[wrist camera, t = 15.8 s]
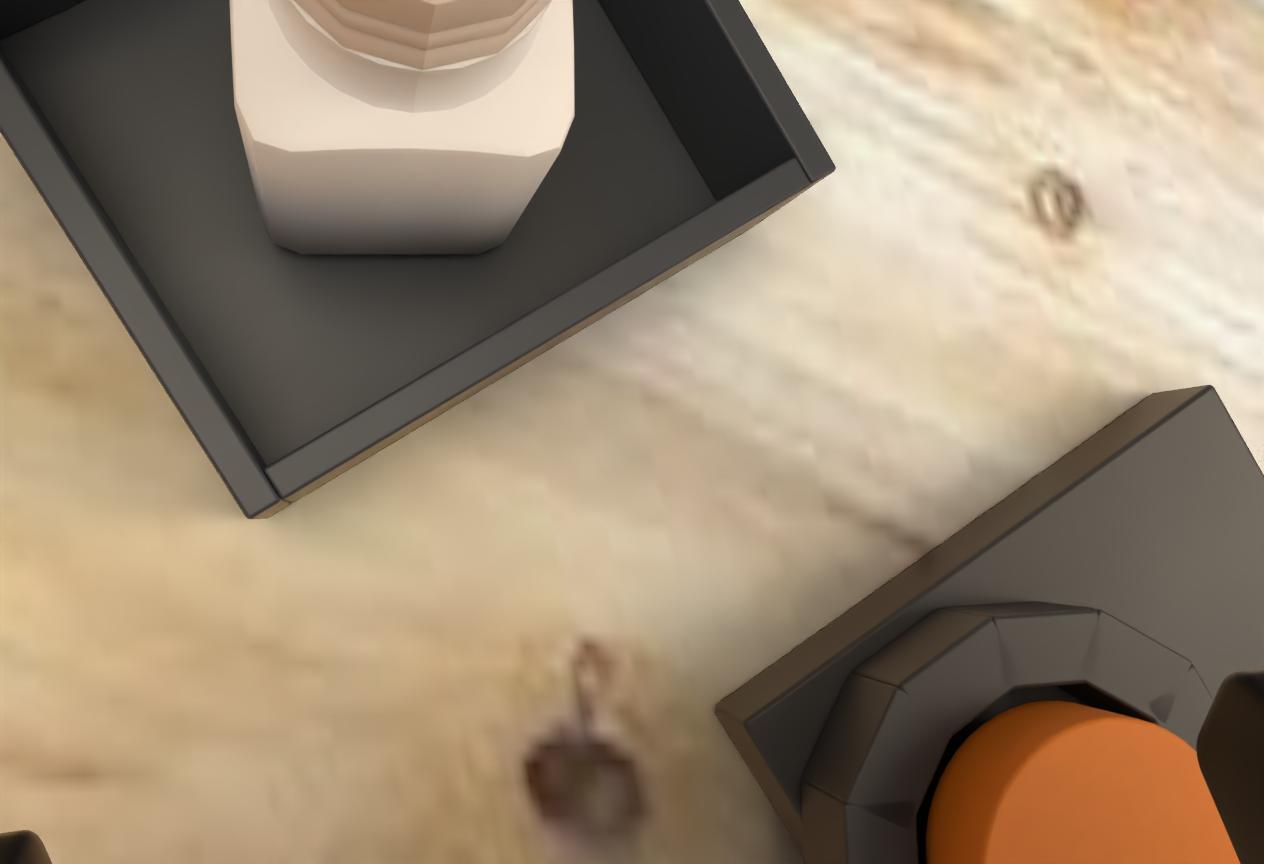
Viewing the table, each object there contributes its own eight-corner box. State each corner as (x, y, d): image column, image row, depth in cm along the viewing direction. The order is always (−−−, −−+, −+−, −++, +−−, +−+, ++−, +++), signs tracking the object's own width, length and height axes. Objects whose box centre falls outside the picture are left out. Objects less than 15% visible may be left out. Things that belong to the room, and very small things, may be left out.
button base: (908, 1096, 22) (1015, 1203, 18) (680, 727, 21) (747, 768, 18) (1343, 725, 25) (1505, 759, 21) (1153, 391, 24) (1288, 370, 21)
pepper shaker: (498, 32, 21) (632, -356, 11) (508, 262, 20) (653, 53, 11) (255, 21, 20) (187, -414, 10) (264, 262, 19) (203, 33, 10)
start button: (1013, 1037, 19) (1080, 1089, 17) (873, 805, 19) (927, 834, 17) (1210, 868, 20) (1292, 901, 18) (1080, 646, 20) (1150, 658, 18)
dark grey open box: (265, 519, 20) (248, 520, 16) (-41, 40, 19) (-137, -82, 15) (749, 228, 22) (838, 168, 18) (492, -205, 21) (528, -364, 18)
